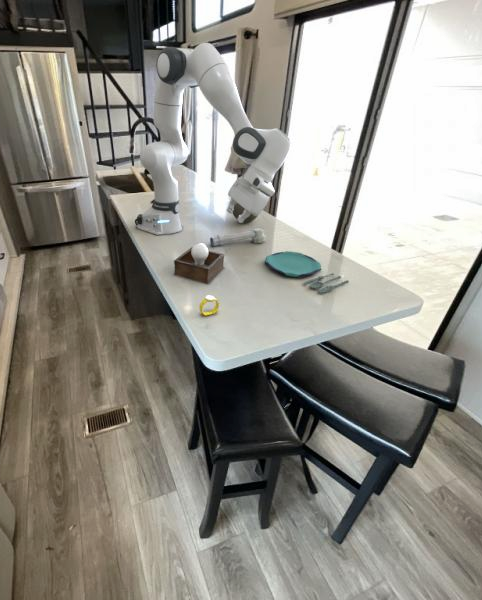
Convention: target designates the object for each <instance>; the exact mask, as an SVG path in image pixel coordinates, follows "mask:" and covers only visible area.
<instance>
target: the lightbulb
mask: <svg viewBox="0 0 482 600" xmlns="http://www.w3.org/2000/svg"><path fill="white" fill-rule="evenodd" d="M192 247H193V248H192V250H191V255H192V257H193V259H194V260H195V262H194V263H195V265H199V266H203V267H204V261H205V259H206V258H207V257H208V254H209V251H210V250H209V248H208V246H207V245H206V244H205V243H195V244H194V245H193V246H192Z"/></svg>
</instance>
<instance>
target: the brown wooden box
mask: <svg viewBox="0 0 482 600" xmlns="http://www.w3.org/2000/svg"><path fill="white" fill-rule="evenodd" d="M192 248H193V246H191V247H189V248H188V249H187V250H186V251H184V252H183V253H182V254H180V255H179V256H177V258H175V259H174V260H173V262H174V263H173V265H174V275H175V276H176V277H177V276H178V277H181V278H185V279H189V280H193V281H196V282H200V283H203V284H207V285H208V284H209V283H211V281H212V280H213V279H214V278H215V277H216V276H217V275H218V274H219V273H220V272H221V271H222V270H223V269H224V262H225V253H221V252H216V251H211V250H208V251H209V254H208V257H207V258H206V259H205V261H204V264H203V266H199V265H196V264H194V263H195V260H194V259H193V257H192V255H191V250H192Z"/></svg>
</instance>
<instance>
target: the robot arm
mask: <svg viewBox="0 0 482 600" xmlns="http://www.w3.org/2000/svg"><path fill="white" fill-rule="evenodd" d="M155 67H156V73H157V79H156V83H155V89H154V90H155V91H154V99H153V100H154V103H153V126H154V127H155V128H156V129H157V130H158V132H159V137H160V140H159V141H153V142H150V143H147V144H146V145H144V146H143V147H142V148H141V149H140V151H139V160H140V163H141V165H142V167H143V168H144V169H145V170H147V171H148V173H149V175H150V177H151V181H152V185H153V193H154V198H153V199H152V200H150V201H149V204H150V205H151V207H150V208H149V209H147V210H146V211H145V212H143V213H139V214H137V217H136V218H135V219H134V225H135V226H136V228H137V229H139V230H142V231H145V232H146V233H147V232H148V233H151V234H153V235H156V236H160V235H169V234H170V235H171V234H175V233H178V232H181V231H182V230H183V227H182V222H181V217H180V199H179V183H178V180H177V179H175V178H174V177H173V174H172V170H171V168H174V167H178V166H181V165H182V164H183V163H185V162H186V161H187V159H188V157H189V148H188V146H187V144H186V143H185V141H184V139H183V135H182V126H181V125H182V110H183V109H182V108H183V96H184V91H185V89H186V88H187V87H189V89H194V88H199V90H200V92H201V93H202V95H203V97H204V98H205V99H206V100H207V102H208V103H209V104H210V105H211V107H213V108H214V109H215V110H216V111H217V113H219V114H220V115H221V116H222V117H223V118H224V119H225V120H226V121H227V123H228V124H229V125H230V127H231V129H232V131H233V132H234V137H233V140H232V149H233V151H234V153H235V154H236V156H237V157H238V158H239V159H240V160H241V161H243V163H244V164H245V165H246V166H247V167H248V169H246V172H245V173H244V174H242V175H240V177H238V178H237V179H236V180H235V181H234V183H233V184H232V185H231V187H230V188H229V190H228V193H227V196H228V197H229V198H230V200H229V203H228V206H227V208H226V212H227V213H228V214H233V213H232V212H233V210H234V209H233V208H234V205H235V204H236V203H238V204H240V205H241V206H242V207H243V208H245V210H244V211H243V212H244V213H243V214H242V215H241V216H240V215H239V217H238V218H237V219H236V221H237V222H238V223H240V224H242V223H243V221H244V220H245V219H246V218H247V217H249V216H250V214H253V215H255V216H257V215H258V216H259V215H260V214H261V213H262V212H263V210H264V209H265V207H266V206H267V204H268V203H269V200H270V198H271V197H273V196H274V194H275V192H276V191H275V189H274V187H273V184H272V181H273V180H274V178H275V175H276V173H277V171H279V170H280V169H281V168H282V166H283V165H284V163H285V161H286V160H287V158H288V155H289V154H290V152H291V149H292V141H291V139H290V137H289V136H288V135H287V134H286V133H285V132H284V131H283V130H281V129H279V128H273V129H260V128H255V127H253V125H252V123H251V121H250V119H249V117H248V116H247V114H246V112H245V109H244V107H243V105H242V102H241V97H240V95H239V92H238V89H237V86H236V83H235V80H234V76H233V75H232V73H231V70H230V68H229V66H228V65H227V62H226V61H225V60H224V58H223V57H222V54H221V53H220V52H219V51H218V50H217V48H216V47H215V46H214V45H213V44H212V43H210V42H202V43H199V44H198V45H197V46H195V48H194V49H193V48H188V47H184V48H183V47H174V46H169V47H165V48H162V49H161V50H160V52H159V53H158V55H157V59H156V66H155ZM258 216H257V217H258ZM243 224H244V223H243Z"/></svg>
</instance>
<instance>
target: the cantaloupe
mask: <svg viewBox="0 0 482 600" xmlns="http://www.w3.org/2000/svg"><path fill="white" fill-rule="evenodd" d="M233 209H234V210H233V212H232V213H231V214H232V215H233V217H234V218H235V220H237V218H238V217H239V215H240V216H241V215H242V214H243V213H244V212H243V211H244V210H245V208H243V207H242V206H241V205H240V204H238V203H236V204H235V205H234V208H233ZM258 217H259V215H257V216H255V215H253V214H250V216H249V217H247V218H246V219H245V220H244V221H243V224H248V223H251V222H253V221H255V220H256V219H257V218H258Z"/></svg>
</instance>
